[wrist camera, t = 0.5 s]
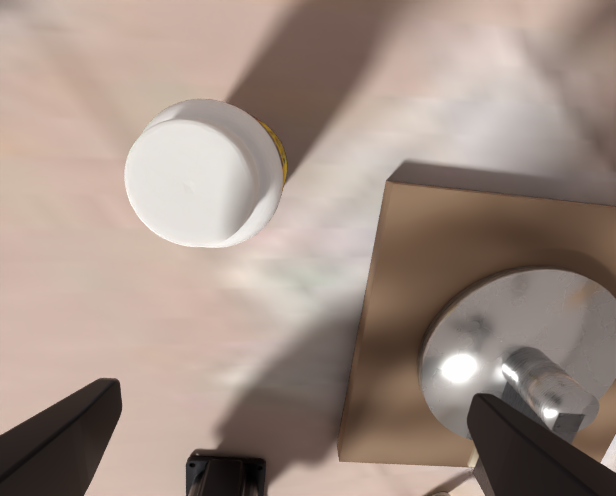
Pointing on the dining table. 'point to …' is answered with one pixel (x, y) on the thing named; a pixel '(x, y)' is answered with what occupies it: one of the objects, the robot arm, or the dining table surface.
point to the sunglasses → (441, 494)
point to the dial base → (442, 289)
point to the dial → (522, 350)
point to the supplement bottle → (205, 174)
